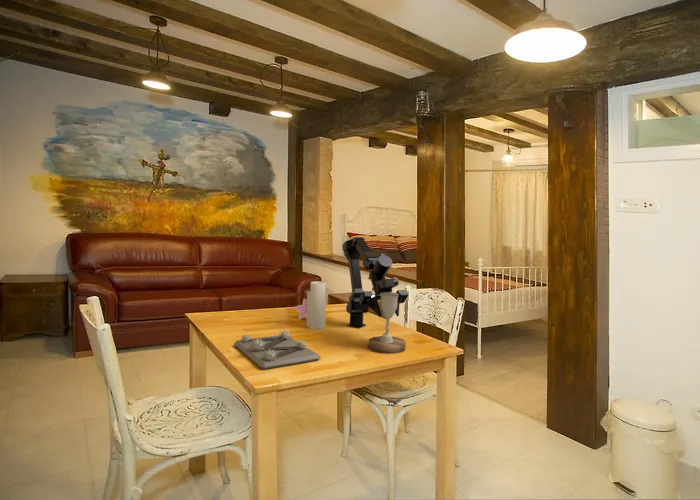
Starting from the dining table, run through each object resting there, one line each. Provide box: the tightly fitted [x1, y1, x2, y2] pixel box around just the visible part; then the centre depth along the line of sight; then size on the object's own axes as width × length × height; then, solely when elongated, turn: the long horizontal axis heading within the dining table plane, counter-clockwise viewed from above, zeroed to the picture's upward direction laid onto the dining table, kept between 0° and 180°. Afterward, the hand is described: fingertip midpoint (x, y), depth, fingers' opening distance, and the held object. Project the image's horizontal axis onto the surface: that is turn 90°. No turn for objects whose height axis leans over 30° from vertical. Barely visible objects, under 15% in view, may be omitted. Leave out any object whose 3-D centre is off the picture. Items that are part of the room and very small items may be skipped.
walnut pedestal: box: [368, 335, 407, 354], centre depth 167 cm, size 14×14×2 cm
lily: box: [293, 298, 307, 321], centre depth 209 cm, size 12×12×10 cm
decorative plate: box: [233, 330, 322, 370], centre depth 158 cm, size 30×22×7 cm
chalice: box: [379, 292, 399, 343], centre depth 166 cm, size 7×7×18 cm
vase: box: [306, 280, 327, 331], centre depth 194 cm, size 11×7×20 cm, turn 20°
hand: (389, 316), depth 165 cm, fingers open, 7 cm apart
